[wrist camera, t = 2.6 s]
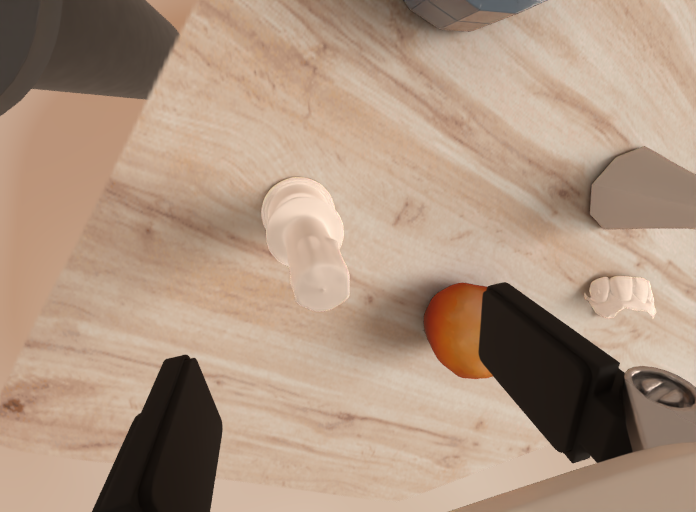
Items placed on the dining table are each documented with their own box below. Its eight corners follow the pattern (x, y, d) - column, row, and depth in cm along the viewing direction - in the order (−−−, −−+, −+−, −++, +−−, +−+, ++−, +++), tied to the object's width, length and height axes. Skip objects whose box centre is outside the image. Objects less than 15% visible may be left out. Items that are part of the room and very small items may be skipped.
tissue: (608, 257, 33) (648, 273, 30) (647, 282, 36) (687, 300, 33) (573, 300, 34) (607, 321, 31) (613, 321, 37) (648, 342, 34)
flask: (658, 195, 31) (815, 229, 22) (595, 240, 32) (724, 291, 23) (648, 130, 28) (828, 139, 19) (577, 182, 28) (720, 214, 19)
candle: (247, 194, 22) (230, 270, 12) (318, 164, 23) (364, 212, 12) (280, 257, 25) (292, 368, 14) (344, 230, 25) (402, 318, 14)
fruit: (397, 361, 30) (456, 382, 23) (410, 278, 32) (469, 273, 24) (465, 371, 33) (537, 394, 25) (473, 295, 34) (544, 295, 27)
